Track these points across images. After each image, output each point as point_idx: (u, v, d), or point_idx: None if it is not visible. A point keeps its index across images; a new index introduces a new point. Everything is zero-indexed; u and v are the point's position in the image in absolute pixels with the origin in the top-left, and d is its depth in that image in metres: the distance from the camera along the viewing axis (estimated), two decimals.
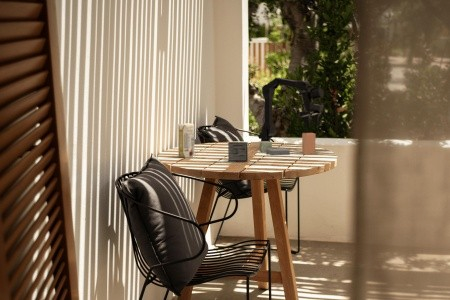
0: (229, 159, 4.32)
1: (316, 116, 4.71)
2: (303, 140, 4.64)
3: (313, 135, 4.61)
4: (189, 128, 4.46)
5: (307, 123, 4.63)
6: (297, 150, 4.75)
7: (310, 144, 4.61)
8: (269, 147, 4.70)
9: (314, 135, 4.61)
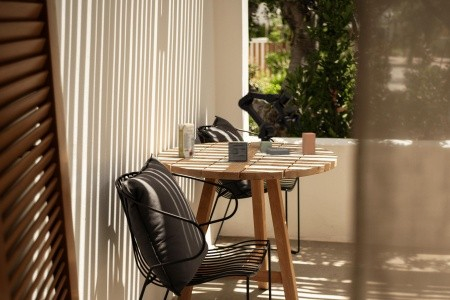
0: (229, 159, 4.32)
1: (296, 120, 4.75)
2: (303, 140, 4.64)
3: (313, 135, 4.61)
4: (189, 128, 4.46)
5: (286, 127, 4.67)
6: (297, 150, 4.75)
7: (310, 144, 4.61)
8: (269, 147, 4.70)
9: (314, 135, 4.61)
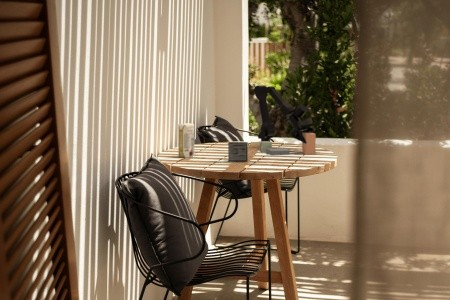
0: (229, 159, 4.32)
1: None
2: None
3: (313, 135, 4.61)
4: (189, 128, 4.46)
5: (302, 140, 4.60)
6: (297, 150, 4.75)
7: (310, 144, 4.61)
8: (269, 147, 4.70)
9: (314, 135, 4.61)
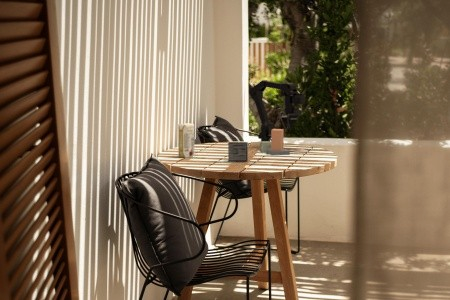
0: (229, 159, 4.32)
1: (287, 119, 4.80)
2: None
3: (279, 131, 4.58)
4: (189, 128, 4.46)
5: (290, 126, 4.70)
6: (297, 150, 4.75)
7: (276, 140, 4.60)
8: (269, 147, 4.70)
9: (280, 131, 4.58)
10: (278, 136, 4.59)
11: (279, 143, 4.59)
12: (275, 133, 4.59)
